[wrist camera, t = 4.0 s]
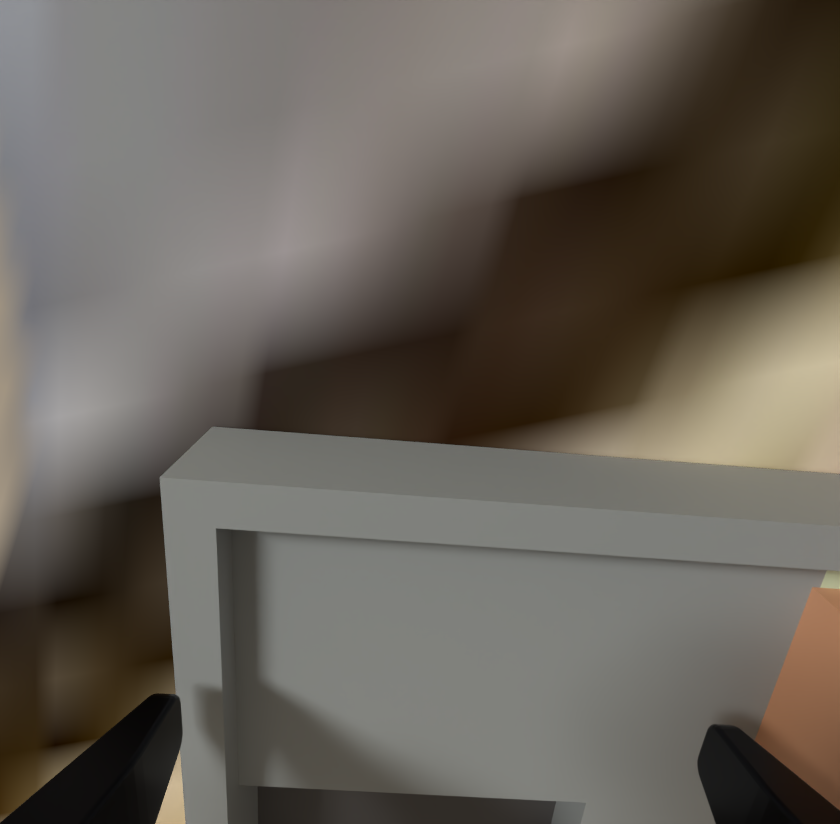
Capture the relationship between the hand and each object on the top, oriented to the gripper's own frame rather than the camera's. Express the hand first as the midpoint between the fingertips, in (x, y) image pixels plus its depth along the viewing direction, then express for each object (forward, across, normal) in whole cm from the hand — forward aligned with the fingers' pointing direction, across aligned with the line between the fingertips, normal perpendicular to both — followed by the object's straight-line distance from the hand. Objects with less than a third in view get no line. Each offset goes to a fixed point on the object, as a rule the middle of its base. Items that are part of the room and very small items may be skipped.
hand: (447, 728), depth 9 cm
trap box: (+3, -4, +4) cm, 6 cm away
